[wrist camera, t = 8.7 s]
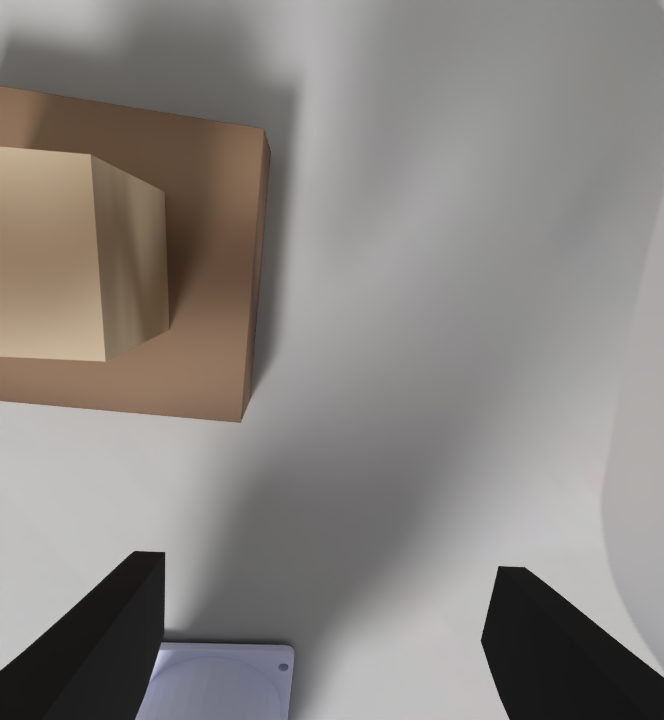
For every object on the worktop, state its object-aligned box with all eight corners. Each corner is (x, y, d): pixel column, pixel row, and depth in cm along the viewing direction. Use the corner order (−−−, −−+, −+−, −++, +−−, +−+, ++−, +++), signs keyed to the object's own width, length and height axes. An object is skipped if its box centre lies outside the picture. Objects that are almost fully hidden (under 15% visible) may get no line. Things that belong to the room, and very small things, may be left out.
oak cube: (169, 329, 14) (105, 361, 9) (32, 322, 13) (-100, 352, 9) (164, 192, 13) (90, 154, 8) (16, 179, 12) (-144, 134, 8)
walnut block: (251, 396, 18) (240, 422, 15) (13, 373, 17) (-50, 396, 14) (271, 155, 15) (263, 128, 12) (-2, 112, 14) (-80, 73, 11)
